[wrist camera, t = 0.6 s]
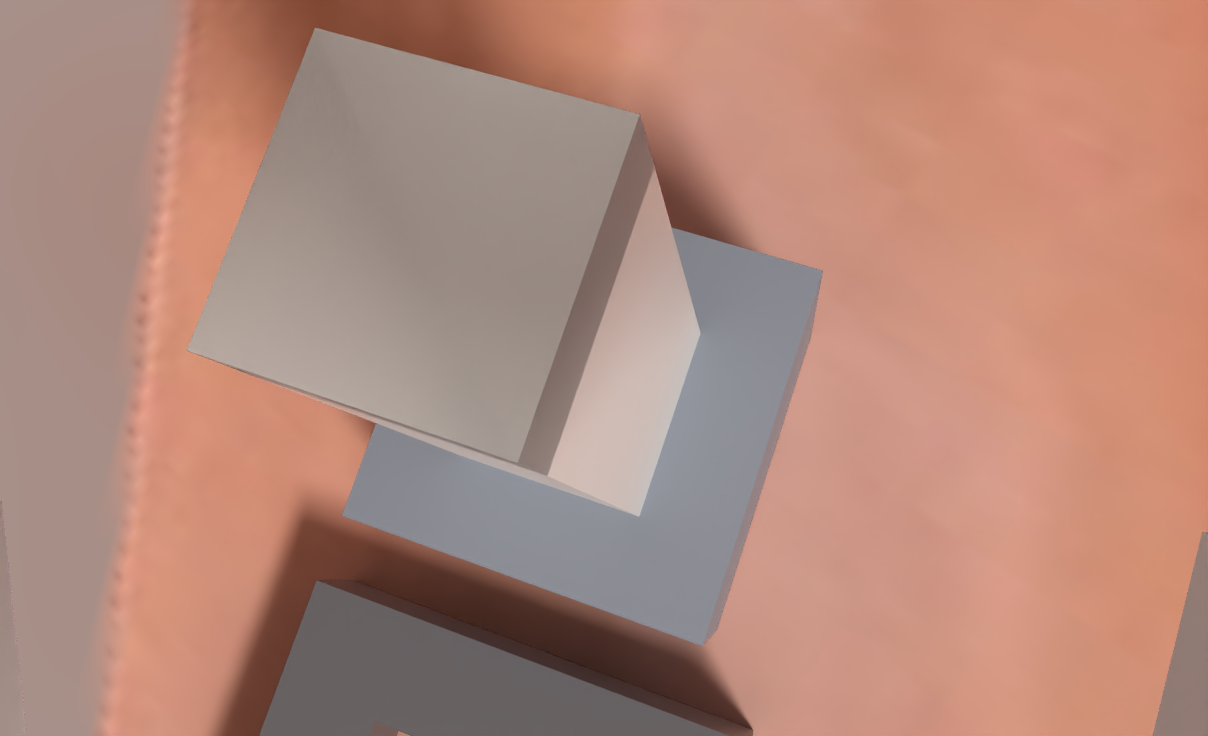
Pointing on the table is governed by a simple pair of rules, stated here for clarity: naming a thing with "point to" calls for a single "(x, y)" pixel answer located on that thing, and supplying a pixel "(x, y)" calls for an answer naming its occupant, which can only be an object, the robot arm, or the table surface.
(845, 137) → the table surface
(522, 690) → the socket block
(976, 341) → the table surface
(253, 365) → the plug
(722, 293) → the stand
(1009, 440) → the table surface
